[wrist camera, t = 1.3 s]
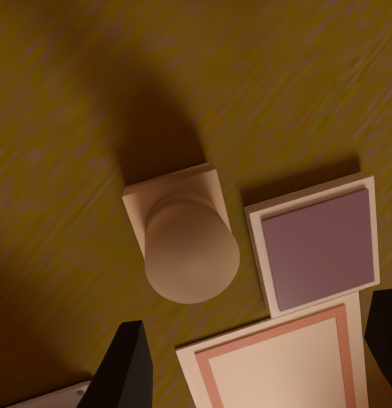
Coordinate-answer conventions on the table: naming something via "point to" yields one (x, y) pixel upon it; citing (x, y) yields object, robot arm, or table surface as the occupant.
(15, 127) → the table surface
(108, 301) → the table surface
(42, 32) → the table surface
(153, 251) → the stamp
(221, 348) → the marked sheet
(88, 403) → the robot arm
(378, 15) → the table surface
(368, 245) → the ink pad
